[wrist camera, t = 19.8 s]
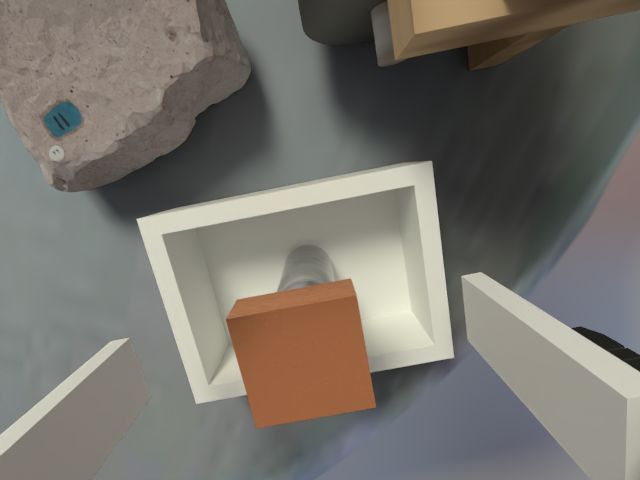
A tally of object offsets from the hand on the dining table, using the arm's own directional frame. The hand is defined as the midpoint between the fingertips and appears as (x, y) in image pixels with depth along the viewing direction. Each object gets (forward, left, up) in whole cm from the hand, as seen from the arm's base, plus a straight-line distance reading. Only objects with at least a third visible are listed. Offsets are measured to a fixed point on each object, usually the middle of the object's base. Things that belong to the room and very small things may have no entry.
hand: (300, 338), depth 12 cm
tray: (0, 0, -10) cm, 10 cm away
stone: (-8, +13, -10) cm, 18 cm away
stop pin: (0, 0, -9) cm, 9 cm away
